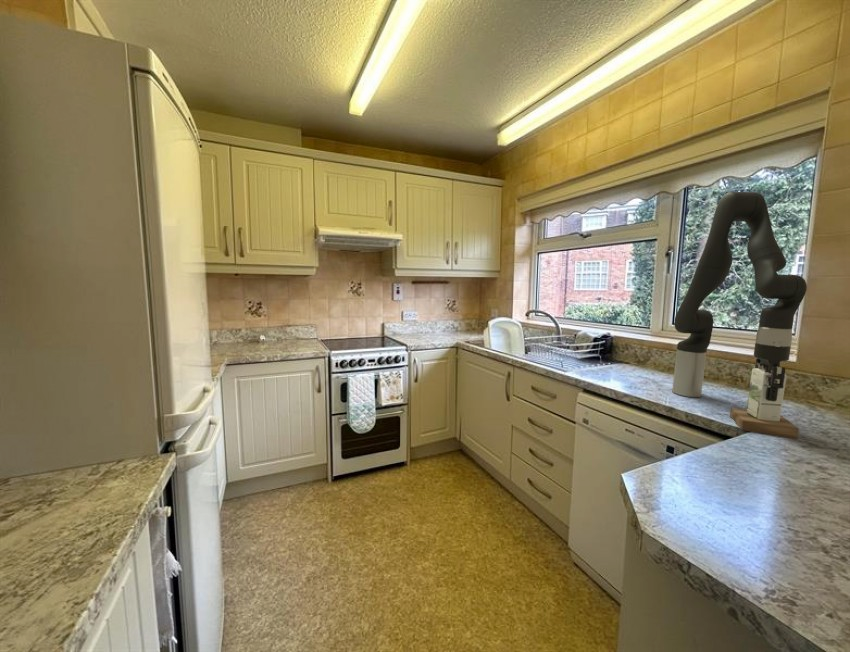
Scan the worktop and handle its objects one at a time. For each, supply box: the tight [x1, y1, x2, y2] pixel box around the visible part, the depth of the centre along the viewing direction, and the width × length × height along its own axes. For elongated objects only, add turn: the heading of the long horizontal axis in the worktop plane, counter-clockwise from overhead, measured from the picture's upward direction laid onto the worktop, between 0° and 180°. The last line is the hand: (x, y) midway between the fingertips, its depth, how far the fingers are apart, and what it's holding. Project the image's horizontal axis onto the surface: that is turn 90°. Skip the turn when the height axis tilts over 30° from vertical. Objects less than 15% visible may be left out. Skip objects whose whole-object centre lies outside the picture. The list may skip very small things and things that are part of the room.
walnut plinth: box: [729, 407, 800, 440], centre depth 107 cm, size 12×12×3 cm
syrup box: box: [745, 367, 788, 422], centre depth 106 cm, size 6×6×14 cm
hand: (765, 396), depth 106 cm, fingers open, 8 cm apart
